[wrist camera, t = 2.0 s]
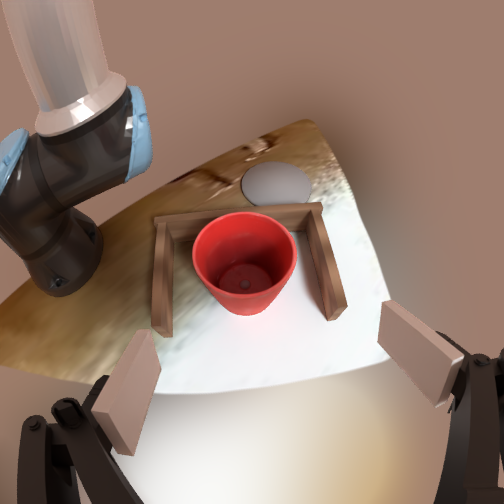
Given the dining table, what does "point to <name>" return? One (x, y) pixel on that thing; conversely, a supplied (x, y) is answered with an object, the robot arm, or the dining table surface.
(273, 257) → the flower pot
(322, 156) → the dining table surface
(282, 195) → the slate mat
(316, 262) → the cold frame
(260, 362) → the dining table surface
